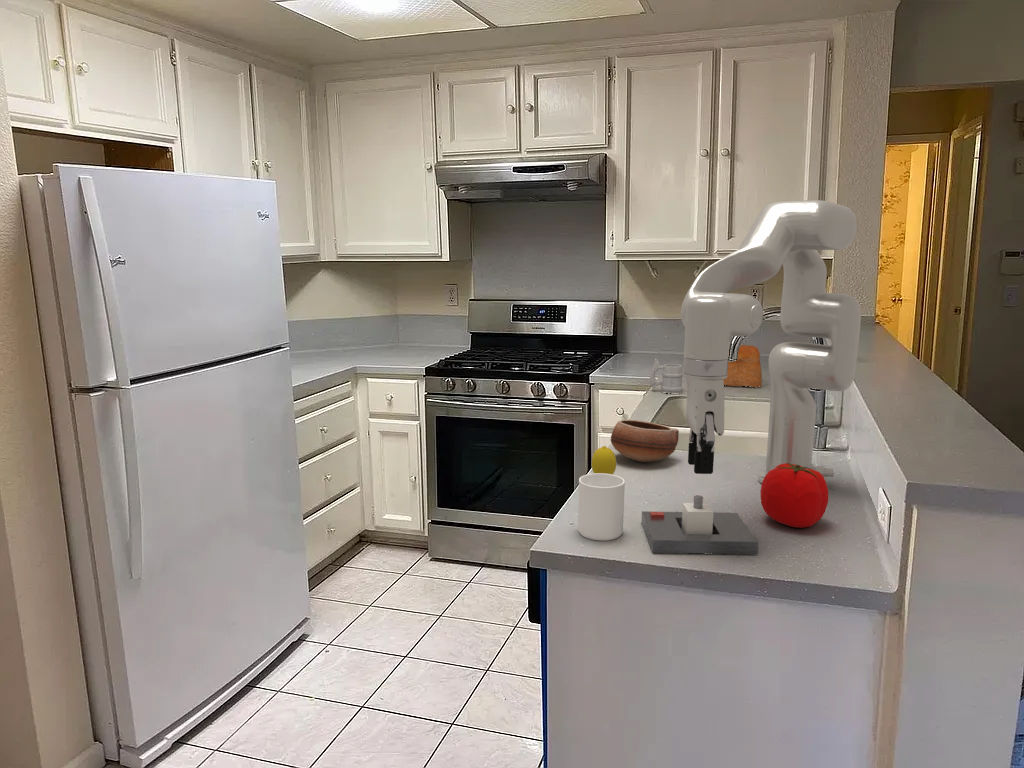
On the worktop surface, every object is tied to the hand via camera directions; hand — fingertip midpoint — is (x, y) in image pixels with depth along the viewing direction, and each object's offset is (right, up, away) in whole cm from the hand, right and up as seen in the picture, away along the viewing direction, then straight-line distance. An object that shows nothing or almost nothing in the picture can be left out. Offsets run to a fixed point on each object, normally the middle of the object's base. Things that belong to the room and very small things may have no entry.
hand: (700, 467), depth 134 cm
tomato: (+20, -12, +11) cm, 26 cm away
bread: (+47, +15, +151) cm, 159 cm away
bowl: (-1, -4, +51) cm, 51 cm away
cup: (-17, -12, +7) cm, 22 cm away
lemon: (-13, -7, +35) cm, 38 cm away
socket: (0, -13, +3) cm, 13 cm away
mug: (+21, +12, +135) cm, 137 cm away
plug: (0, -13, +3) cm, 13 cm away
